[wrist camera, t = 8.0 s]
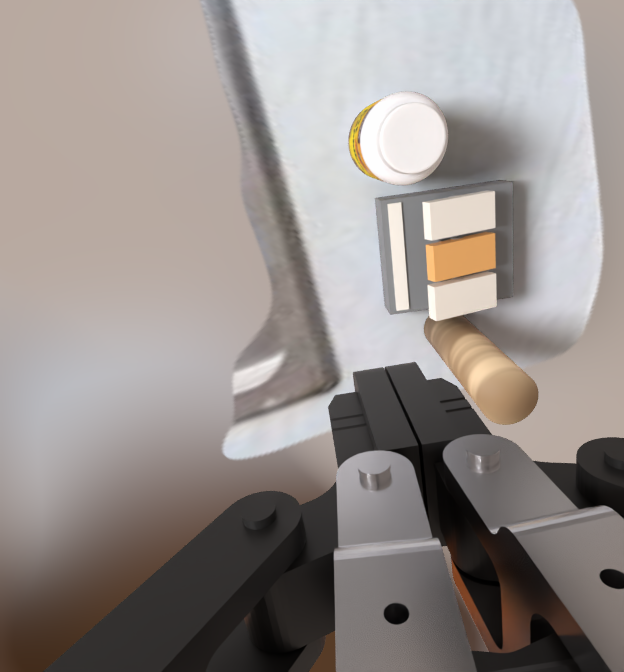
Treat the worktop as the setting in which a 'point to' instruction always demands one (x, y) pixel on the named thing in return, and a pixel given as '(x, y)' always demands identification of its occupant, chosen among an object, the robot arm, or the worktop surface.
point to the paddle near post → (462, 295)
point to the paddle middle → (460, 256)
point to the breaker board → (410, 244)
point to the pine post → (483, 370)
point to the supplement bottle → (399, 138)
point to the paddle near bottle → (459, 215)
